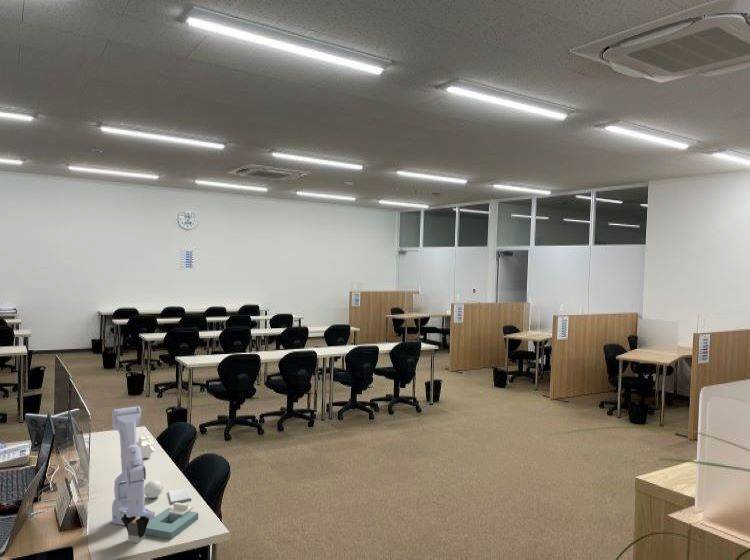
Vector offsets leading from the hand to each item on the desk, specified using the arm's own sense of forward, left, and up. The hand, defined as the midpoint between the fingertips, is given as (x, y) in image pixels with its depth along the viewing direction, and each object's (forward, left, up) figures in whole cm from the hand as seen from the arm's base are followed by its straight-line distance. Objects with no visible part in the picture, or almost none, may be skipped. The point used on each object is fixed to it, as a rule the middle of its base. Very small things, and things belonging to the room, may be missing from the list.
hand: (136, 535), depth 197 cm
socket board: (+5, +12, -2) cm, 13 cm away
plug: (0, 0, -2) cm, 2 cm away
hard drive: (-8, +35, -2) cm, 36 cm away
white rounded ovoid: (-18, +32, -2) cm, 37 cm away
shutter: (+5, +19, +1) cm, 19 cm away
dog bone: (-57, +71, -2) cm, 91 cm away
